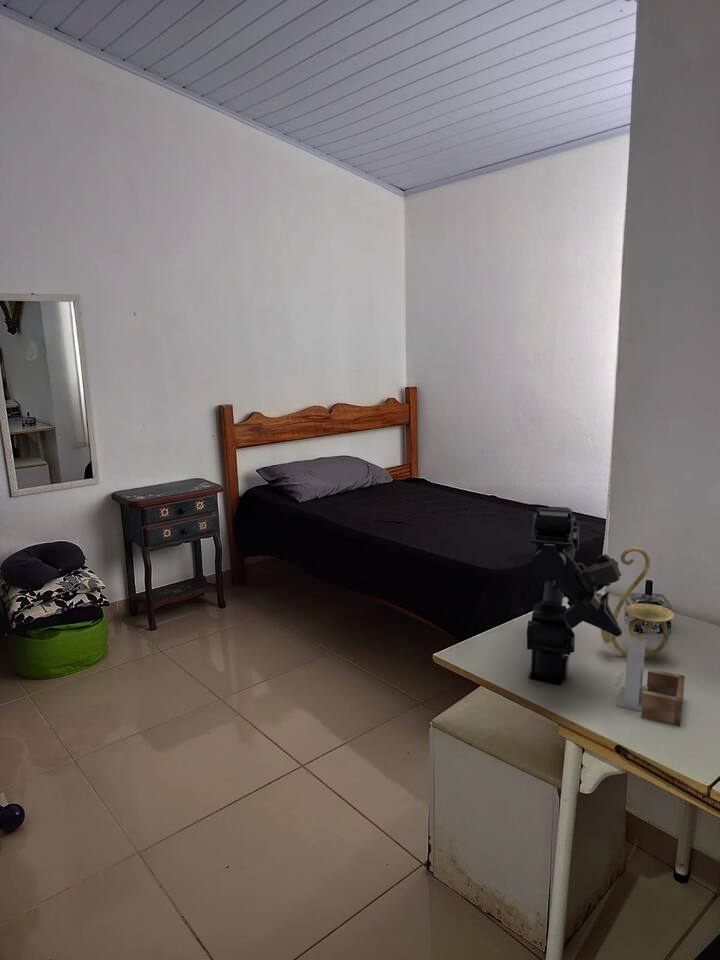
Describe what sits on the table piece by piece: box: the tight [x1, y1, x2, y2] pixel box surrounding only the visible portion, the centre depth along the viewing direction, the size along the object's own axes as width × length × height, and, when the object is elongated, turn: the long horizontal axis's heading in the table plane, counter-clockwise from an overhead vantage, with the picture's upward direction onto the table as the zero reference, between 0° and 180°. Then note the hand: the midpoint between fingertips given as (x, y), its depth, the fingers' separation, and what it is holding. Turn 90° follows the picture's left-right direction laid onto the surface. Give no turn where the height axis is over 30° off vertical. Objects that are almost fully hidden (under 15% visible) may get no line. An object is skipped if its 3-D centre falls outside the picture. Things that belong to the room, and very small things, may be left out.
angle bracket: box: [616, 639, 648, 712], centre depth 120 cm, size 5×6×11 cm
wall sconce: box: [600, 546, 675, 659], centre depth 137 cm, size 14×10×25 cm
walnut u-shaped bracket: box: [640, 668, 686, 728], centre depth 118 cm, size 6×10×5 cm, turn 151°
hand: (620, 634), depth 120 cm, fingers closed
